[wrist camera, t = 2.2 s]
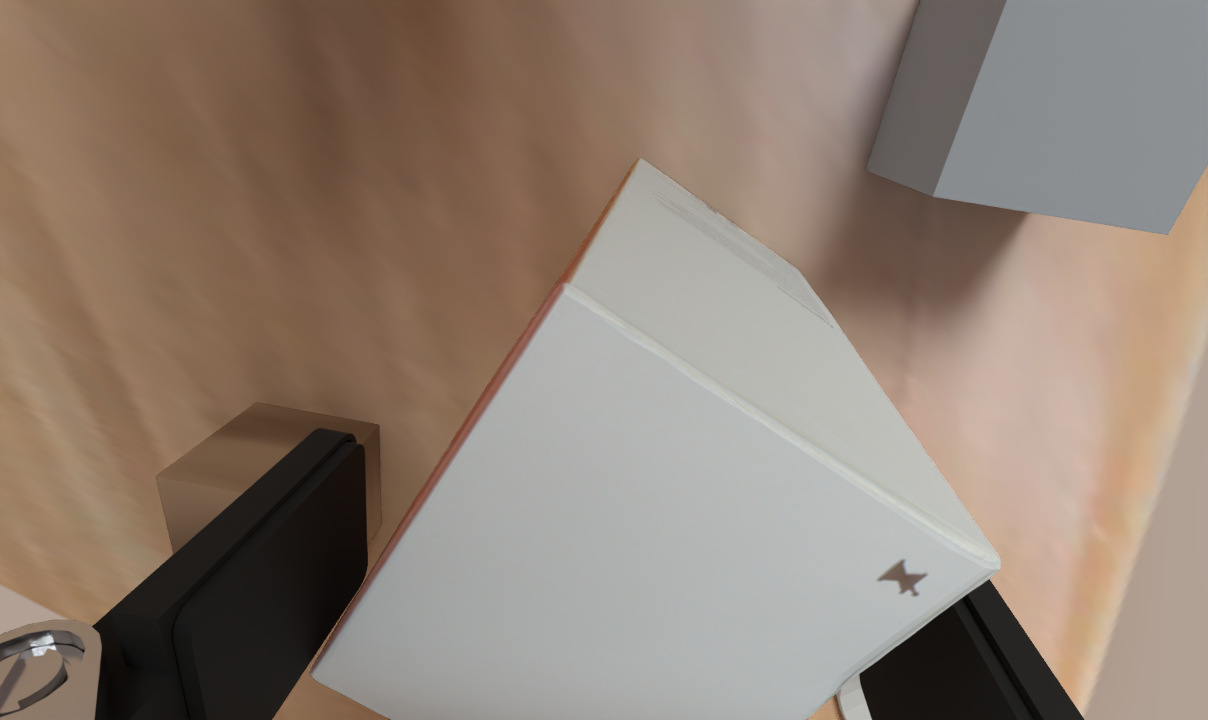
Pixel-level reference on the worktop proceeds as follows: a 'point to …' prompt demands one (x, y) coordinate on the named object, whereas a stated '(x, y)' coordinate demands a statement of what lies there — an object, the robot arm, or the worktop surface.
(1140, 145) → the slate block
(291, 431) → the walnut block
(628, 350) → the small box
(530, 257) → the worktop surface
